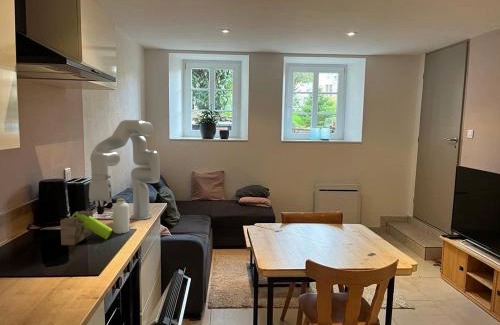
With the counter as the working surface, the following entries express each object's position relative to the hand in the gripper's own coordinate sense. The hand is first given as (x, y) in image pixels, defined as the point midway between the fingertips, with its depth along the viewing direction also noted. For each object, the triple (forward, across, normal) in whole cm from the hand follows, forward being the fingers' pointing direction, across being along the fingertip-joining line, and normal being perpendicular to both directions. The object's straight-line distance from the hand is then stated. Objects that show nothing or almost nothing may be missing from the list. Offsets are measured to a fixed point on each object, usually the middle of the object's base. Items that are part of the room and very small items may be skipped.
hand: (100, 213), depth 180 cm
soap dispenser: (+11, -4, 0) cm, 12 cm away
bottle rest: (+13, +12, 0) cm, 18 cm away
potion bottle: (+13, -5, -13) cm, 19 cm away
